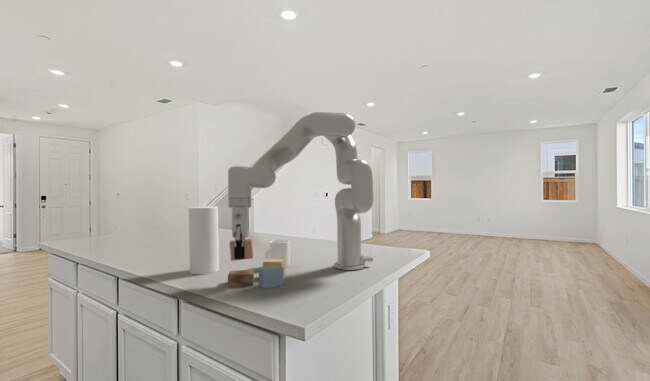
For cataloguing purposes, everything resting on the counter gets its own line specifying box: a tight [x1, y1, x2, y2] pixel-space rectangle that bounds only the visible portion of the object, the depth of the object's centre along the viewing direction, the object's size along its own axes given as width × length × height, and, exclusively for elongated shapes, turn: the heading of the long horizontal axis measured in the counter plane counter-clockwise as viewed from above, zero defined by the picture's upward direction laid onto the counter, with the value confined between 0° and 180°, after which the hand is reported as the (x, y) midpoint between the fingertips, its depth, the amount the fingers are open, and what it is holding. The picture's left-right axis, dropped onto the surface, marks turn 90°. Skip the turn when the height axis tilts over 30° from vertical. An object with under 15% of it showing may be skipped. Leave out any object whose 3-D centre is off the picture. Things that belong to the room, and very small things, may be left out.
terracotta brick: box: [229, 238, 254, 262], centre depth 110 cm, size 7×4×6 cm, turn 99°
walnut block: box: [227, 269, 255, 288], centre depth 110 cm, size 8×6×4 cm
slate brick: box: [258, 265, 284, 290], centre depth 108 cm, size 7×4×6 cm, turn 124°
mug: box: [264, 239, 291, 269], centre depth 132 cm, size 12×8×10 cm
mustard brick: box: [262, 258, 286, 278], centre depth 118 cm, size 7×4×6 cm, turn 79°
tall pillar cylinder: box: [188, 205, 220, 275], centre depth 127 cm, size 11×11×25 cm
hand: (240, 256), depth 110 cm, fingers closed on terracotta brick, 4 cm apart
